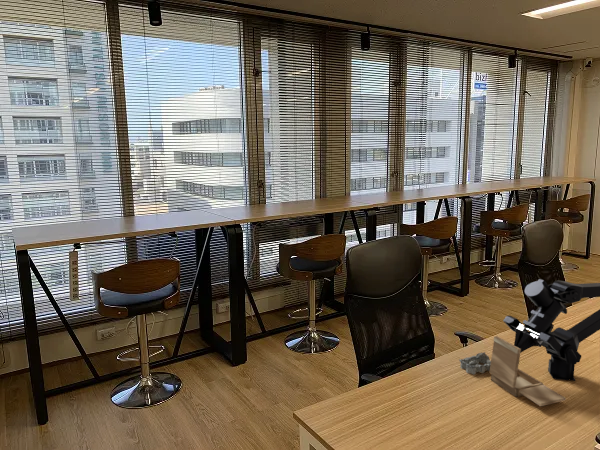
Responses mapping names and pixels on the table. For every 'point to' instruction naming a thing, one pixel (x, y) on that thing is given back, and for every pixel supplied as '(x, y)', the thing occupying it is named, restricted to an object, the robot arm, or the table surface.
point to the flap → (505, 361)
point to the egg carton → (476, 363)
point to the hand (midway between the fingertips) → (514, 354)
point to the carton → (530, 389)
